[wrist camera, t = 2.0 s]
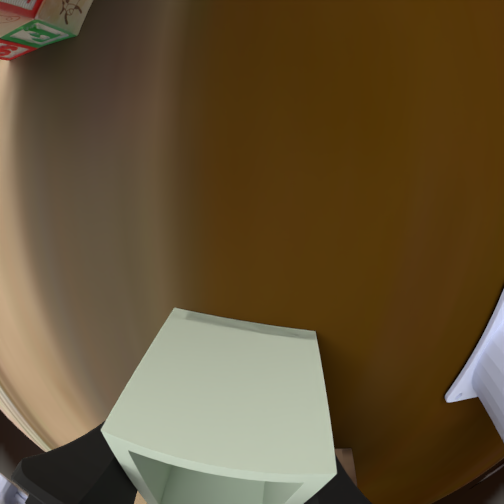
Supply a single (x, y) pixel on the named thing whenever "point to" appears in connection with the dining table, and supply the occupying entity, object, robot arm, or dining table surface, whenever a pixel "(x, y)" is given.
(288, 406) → the box
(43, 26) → the stack of blocks
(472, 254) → the dining table surface
